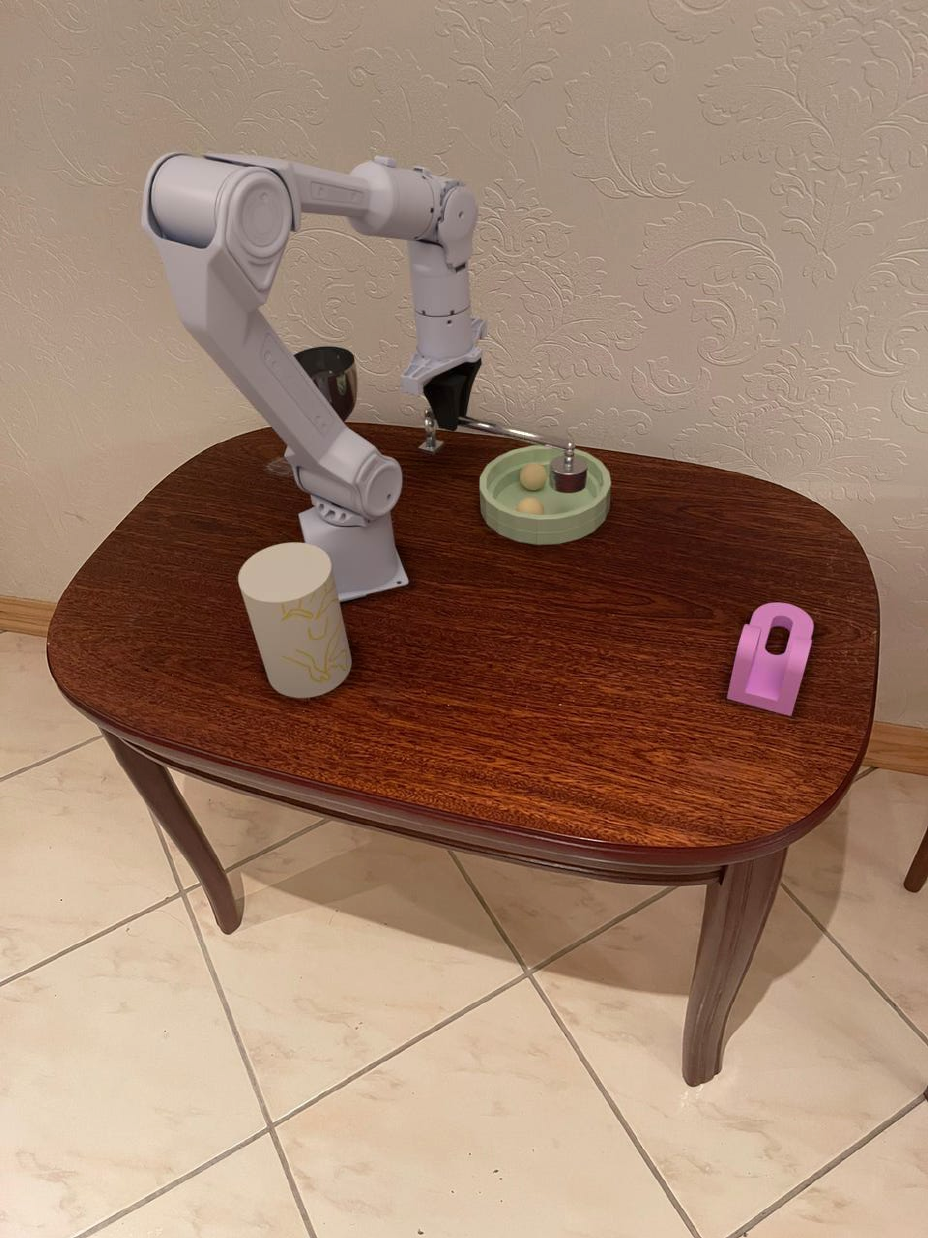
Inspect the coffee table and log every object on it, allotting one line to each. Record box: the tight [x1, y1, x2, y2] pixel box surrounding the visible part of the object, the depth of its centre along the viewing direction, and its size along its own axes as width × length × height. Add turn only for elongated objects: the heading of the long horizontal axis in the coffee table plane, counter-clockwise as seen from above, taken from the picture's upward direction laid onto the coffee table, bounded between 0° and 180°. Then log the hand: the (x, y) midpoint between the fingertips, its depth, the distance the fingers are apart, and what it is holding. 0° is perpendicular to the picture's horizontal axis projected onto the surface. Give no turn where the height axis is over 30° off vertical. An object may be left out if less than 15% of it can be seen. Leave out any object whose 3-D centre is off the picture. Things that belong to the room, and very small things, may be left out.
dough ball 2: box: [516, 498, 545, 515], centre depth 98 cm, size 3×3×3 cm
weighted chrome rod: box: [418, 406, 588, 493], centre depth 96 cm, size 20×4×5 cm, turn 61°
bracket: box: [726, 602, 815, 717], centre depth 80 cm, size 13×6×7 cm, turn 155°
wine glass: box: [292, 345, 359, 424], centre depth 105 cm, size 8×8×15 cm
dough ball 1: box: [520, 463, 547, 490], centre depth 103 cm, size 3×3×3 cm
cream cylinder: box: [237, 542, 353, 699], centre depth 82 cm, size 8×8×12 cm
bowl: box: [479, 444, 612, 546], centre depth 101 cm, size 15×15×4 cm
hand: (451, 424), depth 98 cm, fingers closed on weighted chrome rod
